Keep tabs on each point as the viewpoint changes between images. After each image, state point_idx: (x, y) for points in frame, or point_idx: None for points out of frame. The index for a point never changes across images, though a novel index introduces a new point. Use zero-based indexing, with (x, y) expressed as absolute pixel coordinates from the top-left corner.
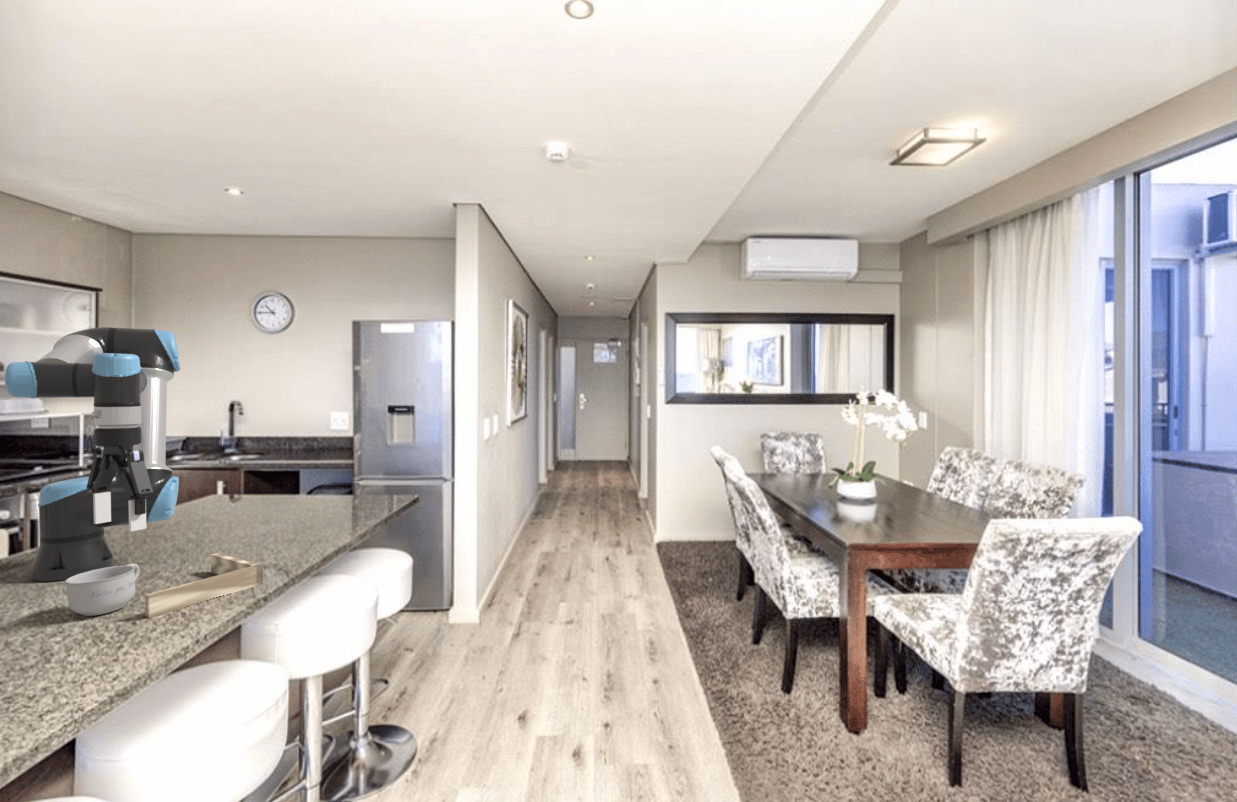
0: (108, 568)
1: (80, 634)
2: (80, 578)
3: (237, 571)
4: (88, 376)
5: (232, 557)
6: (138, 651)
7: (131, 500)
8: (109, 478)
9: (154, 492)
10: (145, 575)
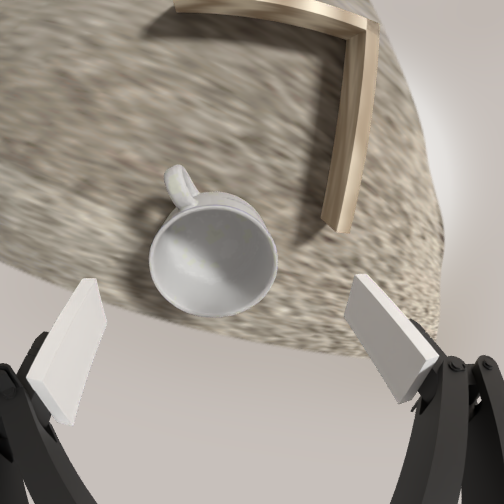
0: (163, 232)
1: (296, 292)
2: (160, 276)
3: (373, 66)
4: None
5: None
6: (408, 280)
7: (411, 395)
8: (75, 493)
9: None
10: (61, 96)
